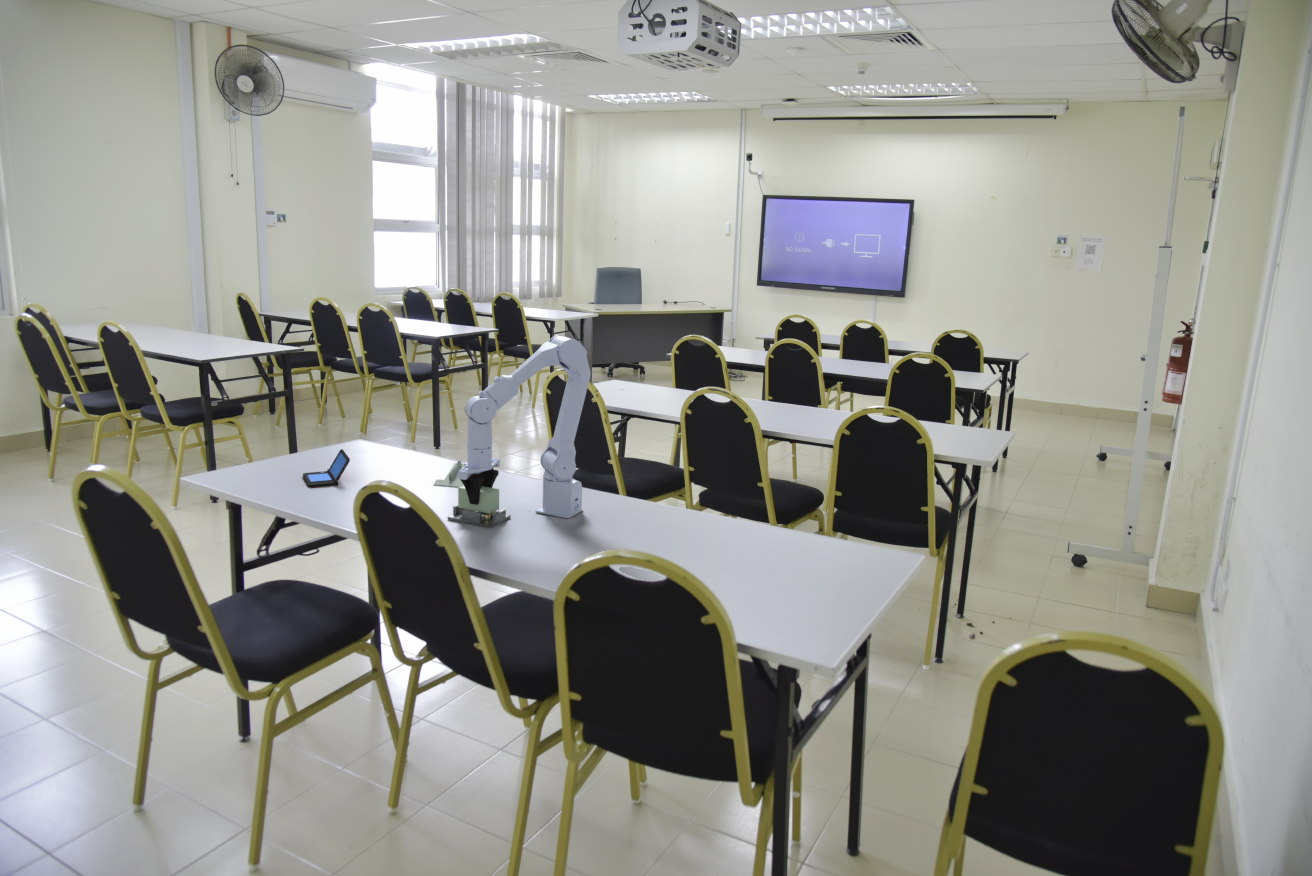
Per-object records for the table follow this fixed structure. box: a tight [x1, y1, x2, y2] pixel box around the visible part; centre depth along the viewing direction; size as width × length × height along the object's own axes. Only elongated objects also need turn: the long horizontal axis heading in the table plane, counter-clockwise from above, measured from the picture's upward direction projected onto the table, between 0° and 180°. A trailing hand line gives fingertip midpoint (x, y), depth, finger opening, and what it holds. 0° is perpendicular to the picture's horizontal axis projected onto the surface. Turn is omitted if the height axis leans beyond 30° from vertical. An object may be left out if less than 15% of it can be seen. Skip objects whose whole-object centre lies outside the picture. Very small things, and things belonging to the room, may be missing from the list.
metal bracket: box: [433, 460, 465, 489], centre depth 238 cm, size 14×6×15 cm
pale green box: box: [457, 486, 500, 513], centre depth 207 cm, size 9×4×5 cm, turn 67°
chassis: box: [447, 503, 512, 529], centre depth 207 cm, size 12×9×3 cm
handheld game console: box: [302, 448, 350, 489], centre depth 232 cm, size 12×11×7 cm
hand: (479, 501), depth 207 cm, fingers closed on pale green box, 4 cm apart
